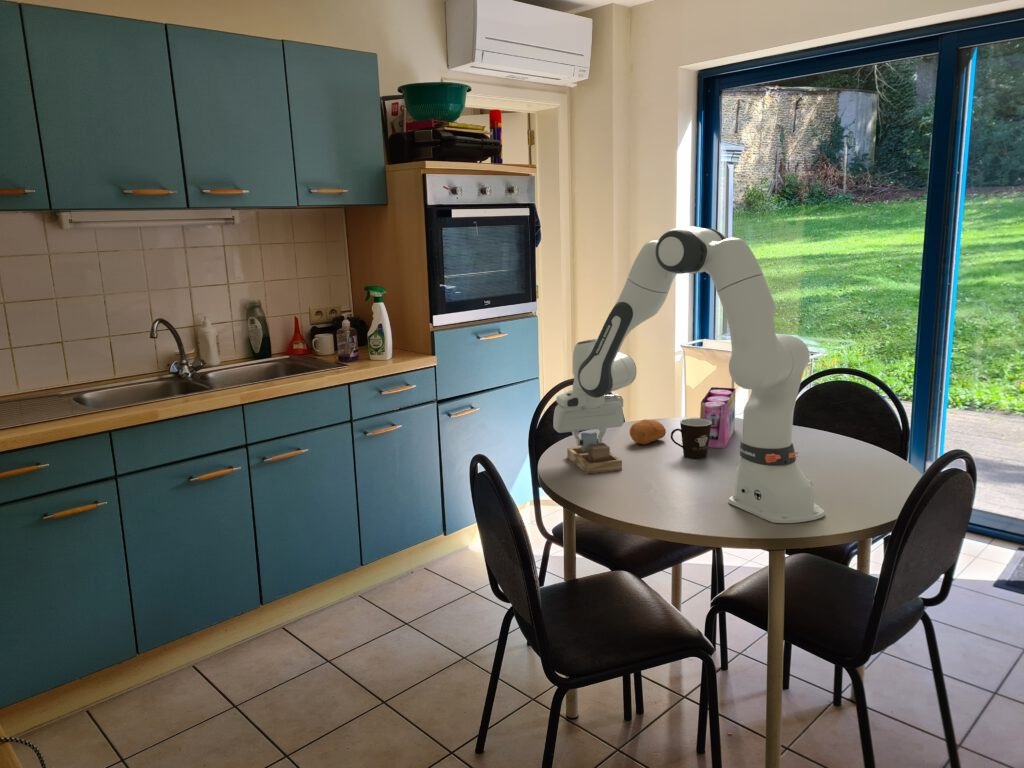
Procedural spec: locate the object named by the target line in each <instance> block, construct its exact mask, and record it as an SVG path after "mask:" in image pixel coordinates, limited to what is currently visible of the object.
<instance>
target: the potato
mask: <svg viewBox="0 0 1024 768" xmlns="http://www.w3.org/2000/svg"><path fill="white" fill-rule="evenodd" d="M666 434H667V431H666V428H665V426H664V424H662V423H661V422H659V421H657V420H653V419H642V420H639V421H637V422H635V423H633V424H632V425H631V426H630V429H629V436H630V438H631V440H633V442H635V443H637V444H640V445H644V446H645V445H647V444H650V443H651V442H654V441H657V440H660V439H662V438H664V437H665V436H666Z"/></svg>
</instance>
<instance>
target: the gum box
mask: <svg viewBox="0 0 1024 768" xmlns="http://www.w3.org/2000/svg"><path fill="white" fill-rule="evenodd" d="M735 417H736V388H733V387H731V388H730V387H717V386H716V387H715V386H714V387H713V386H712V387H710V388H709V390H708V392H707V393H706V394H705V396H704V397H703V399H702V400H701V401H700V412H699V419H705V420H709V421H711V430H710V437H709V444H708V448H713V449H714V448H715V449H726V446H727V445H728V444H729V443H728V442H729V441H730V439H731V438H732V435H733V434H734V432H735V420H736V419H735Z"/></svg>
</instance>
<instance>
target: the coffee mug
mask: <svg viewBox="0 0 1024 768" xmlns="http://www.w3.org/2000/svg"><path fill="white" fill-rule="evenodd" d="M679 422H680V428H675V429H673V430H672V431H671V432H670V440H671V441H672V442H673V443H674V444H675V445H677V446H678V447H680V448H682V453H683V457H684V458H685V459H688V460H704V459H706V458H707V455H708V449H709V447H708V444H709V437H710V430H711V421H709V420H705V419H700V418H694V417H693V418H685V419H682V420H680V421H679ZM677 431H678V432H680V433H681V444H680V443H679V442H677V441H676V440H675V439H674V437H673V436H674V434H675V432H677Z"/></svg>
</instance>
